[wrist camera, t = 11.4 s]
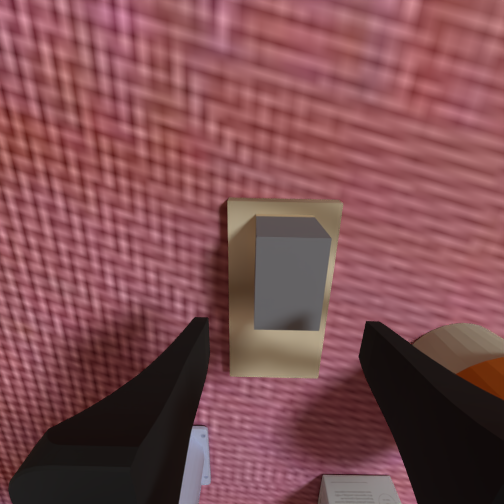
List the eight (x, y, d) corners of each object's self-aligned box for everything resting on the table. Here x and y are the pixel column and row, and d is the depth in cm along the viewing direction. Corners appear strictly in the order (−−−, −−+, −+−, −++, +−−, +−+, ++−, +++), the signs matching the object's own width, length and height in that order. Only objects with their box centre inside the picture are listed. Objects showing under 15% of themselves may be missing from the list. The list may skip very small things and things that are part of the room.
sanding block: (305, 290, 21) (319, 330, 17) (254, 288, 21) (253, 329, 17) (313, 215, 19) (331, 238, 14) (256, 213, 19) (256, 236, 14)
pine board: (315, 368, 26) (317, 378, 25) (230, 366, 26) (229, 376, 25) (338, 200, 20) (343, 203, 19) (228, 197, 20) (227, 200, 19)
